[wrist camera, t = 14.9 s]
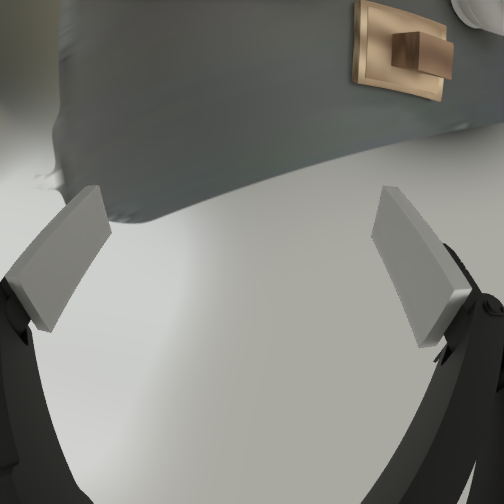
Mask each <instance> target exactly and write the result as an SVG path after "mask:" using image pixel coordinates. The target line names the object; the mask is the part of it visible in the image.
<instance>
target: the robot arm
mask: <svg viewBox="0 0 504 504" xmlns="http://www.w3.org/2000/svg"><path fill="white" fill-rule="evenodd" d="M111 233H112V232H111V228H110V225H109V222H108V218H107V214H106V211H105V207H104V203H103V199H102V195H101V191H100V187H99V185H90V186H86V187H85V188H84V189H83V190H82V191H80V192H79V193H78V194H77V195H76V196H75V197H74V198H73V199H72V200H71V201H70V202H69V203H68V204H67V205H66V206H65V207H64V208H63V209H62V210H61V211H60V212H59V213H58V214H57V215H56V217H54V218H53V220H51V222H50V223H49V224H48V225H47V226H46V227H45V228H44V229H43V230H42V231H41V232H40V234H39V235H38V236H37V237H36V238H35V239H34V240H33V241H32V243H31V244H30V245H29V246H28V247H27V248H26V250H25V251H24V252H23V253H22V255H21V256H20V257H19V258H18V260H17V261H16V262H15V263H14V264H13V266H12V267H11V269H10V270H9V271H8V272H7V273H6V275H5V276H4V278H3V279H2V280H1V282H0V504H94V503H93V502H92V501H91V500H90V498H89V497H88V496H87V495H86V494H85V493H84V492H83V491H82V490H80V489H79V487H78V486H77V484H76V482H75V480H74V478H73V476H72V473H71V471H70V469H69V466H68V464H67V462H66V459H65V457H64V454H63V452H62V449H61V447H60V444H59V441H58V439H57V435H56V433H55V430H54V427H53V424H52V420H51V417H50V414H49V411H48V407H47V404H46V400H45V396H44V392H43V389H42V385H41V380H40V376H39V371H38V367H37V361H36V356H35V350H34V344H33V338H32V332H31V329H30V328H29V326H28V324H29V322H30V320H32V321H33V323H34V324H35V326H36V327H37V329H38V330H42V331H46V332H50V333H51V332H52V330H53V328H54V326H55V325H56V323H57V321H58V319H59V317H60V315H61V313H62V312H63V310H64V308H65V306H66V304H67V303H68V301H69V299H70V297H71V296H72V294H73V292H74V291H75V289H76V287H77V286H78V284H79V282H80V281H81V279H82V277H83V276H84V274H85V272H86V271H87V269H88V268H89V266H90V264H91V263H92V261H93V260H94V258H95V257H96V255H97V254H98V252H99V251H100V249H101V248H102V246H103V245H104V243H105V242H106V240H107V238H108V237H109V236H110V234H111ZM371 237H372V239H373V241H374V243H375V245H376V247H377V249H378V251H379V254H380V256H381V258H382V260H383V262H384V264H385V266H386V269H387V270H388V273H389V275H390V277H391V280H392V282H393V284H394V286H395V288H396V291H397V293H398V296H399V298H400V300H401V303H402V305H403V307H404V310H405V312H406V315H407V318H408V320H409V323H410V325H411V328H412V331H413V333H414V336H415V339H416V341H417V344H418V347H419V348H424V347H431V346H436V345H437V344H438V342H439V341H440V339H441V338H442V336H443V335H444V336H445V338H446V341H447V344H446V345H445V346H444V348H443V349H442V350H441V352H440V353H439V354H438V356H437V357H436V358H435V360H434V362H435V363H436V362H437V361H438V359H439V361H438V364H437V366H436V369H435V371H434V374H433V376H432V379H431V381H430V384H429V386H428V389H427V391H426V393H425V395H424V398H423V400H422V402H421V404H420V406H419V408H418V410H417V412H416V414H415V416H414V418H413V420H412V422H411V424H410V426H409V428H408V430H407V432H406V434H405V436H404V437H403V439H402V441H401V443H400V445H399V446H398V448H397V450H396V451H395V453H394V455H393V456H392V458H391V460H390V461H389V463H388V465H387V466H386V468H385V469H384V471H383V472H382V474H381V476H380V477H379V479H378V480H377V481H376V483H375V484H374V486H373V487H372V489H371V490H370V491H369V493H368V494H367V495H366V497H365V498H364V500H363V501H362V502H361V504H457V502H458V500H459V498H460V496H461V494H462V492H463V490H464V488H465V486H466V483H467V481H468V479H469V476H470V474H471V472H472V469H473V466H474V464H475V461H476V465H475V470H474V475H473V480H472V484H471V488H470V492H469V496H468V499H467V503H466V504H504V307H503V305H502V304H501V302H500V301H499V300H498V299H497V298H495V297H494V296H492V295H490V294H487V293H482V292H481V291H480V289H479V287H478V286H477V284H476V283H475V281H474V280H473V278H472V276H471V275H470V274H469V272H468V270H466V269H465V266H464V264H463V263H462V262H461V260H460V259H459V257H458V256H457V255H456V253H455V252H454V251H453V250H452V249H451V248H450V247H449V246H447V245H446V244H444V243H442V242H441V241H440V240H439V238H438V237H437V236H436V234H435V233H434V232H433V230H432V229H431V228H430V226H429V225H428V224H427V222H426V221H425V220H424V219H423V217H422V216H421V215H420V213H419V212H418V211H417V210H416V209H415V207H414V206H413V205H412V204H411V202H410V201H409V200H408V199H407V198H406V197H405V195H404V194H403V193H402V192H401V191H400V189H399V188H398V187H391V186H383V188H382V193H381V197H380V202H379V206H378V210H377V215H376V219H375V223H374V227H373V231H372V235H371Z"/></svg>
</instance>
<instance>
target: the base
mask: <svg viewBox="0 0 504 504" xmlns="http://www.w3.org/2000/svg"><path fill="white" fill-rule="evenodd" d="M417 31H420V32H423V33H426V34H429V35H432V36H435V37H438V38H440V39H443V40H445V41H446V26H445V25H442V24H440V23H437V22H435V21H432V20H429V19H427V18H424V17H421V16H418V15H415V14H412V13H409V12H406V11H403V10H400V9H396V8H393V7H389V6H386V5H382V4H378V3H374V2H370V1H365V0H359V1H357V2H355V3H354V47H353V68H352V82H355V83H359V84H365V85H371V86H376V87H382V88H387V89H391V90H396V91H401V92H405V93H409V94H413V95H417V96H421V97H425V98H429V99H432V100H436V101H439V102H441V97H442V89H443V80H444V78H440V77H436V76H431V75H426V74H421V73H418V72H414V71H410V70H406V69H402V68H398V67H394V66H391V58H392V34H396V33H405V32H417Z"/></svg>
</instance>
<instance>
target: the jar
mask: <svg viewBox="0 0 504 504" xmlns="http://www.w3.org/2000/svg"><path fill="white" fill-rule="evenodd" d="M451 3H452V6H453V9H454V11H455V12H456V14H457V15H458V17H459V18H460V19H461V20H462V21H463V22H464V23H465V24H466V25H468V26H470V27H472V28H481V29H483V30H486V31H489V32H493V33H496V34H499V35H502V36H504V0H451Z"/></svg>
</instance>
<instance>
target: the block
mask: <svg viewBox="0 0 504 504" xmlns="http://www.w3.org/2000/svg"><path fill="white" fill-rule="evenodd" d="M453 46H454V44H453V43H451V42H448V41H445V40H443V39H440V38H438V37H435V36H432V35H429V34H426V33H423V32H420V31H417V32H405V33H396V34H392V58H391V66H394V67H398V68H402V69H406V70H410V71H414V72H418V73H421V74H426V75H431V76H436V77H440V78H445V79H449V80H451V78H452V65H453Z"/></svg>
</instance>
